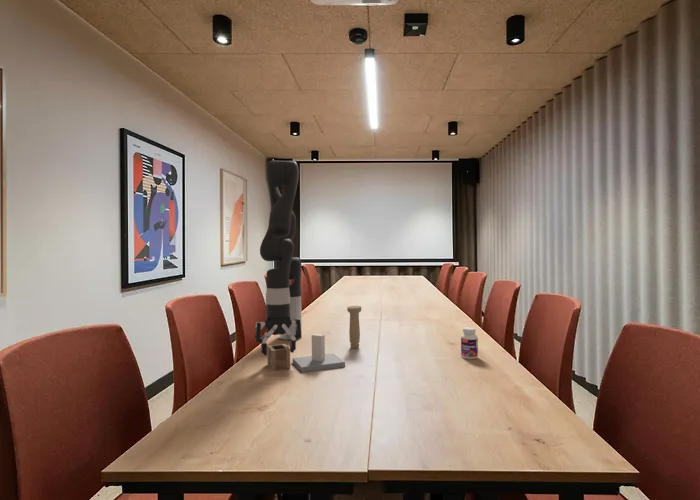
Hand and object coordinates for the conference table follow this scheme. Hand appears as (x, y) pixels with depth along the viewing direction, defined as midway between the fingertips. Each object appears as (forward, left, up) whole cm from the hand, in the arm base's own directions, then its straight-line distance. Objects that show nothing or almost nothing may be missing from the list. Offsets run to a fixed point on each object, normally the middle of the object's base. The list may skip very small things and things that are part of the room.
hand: (278, 353), depth 129 cm
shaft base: (+3, +12, -4) cm, 13 cm away
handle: (-12, +31, -4) cm, 34 cm away
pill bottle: (+16, +61, -4) cm, 63 cm away
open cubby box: (0, 0, -4) cm, 4 cm away
